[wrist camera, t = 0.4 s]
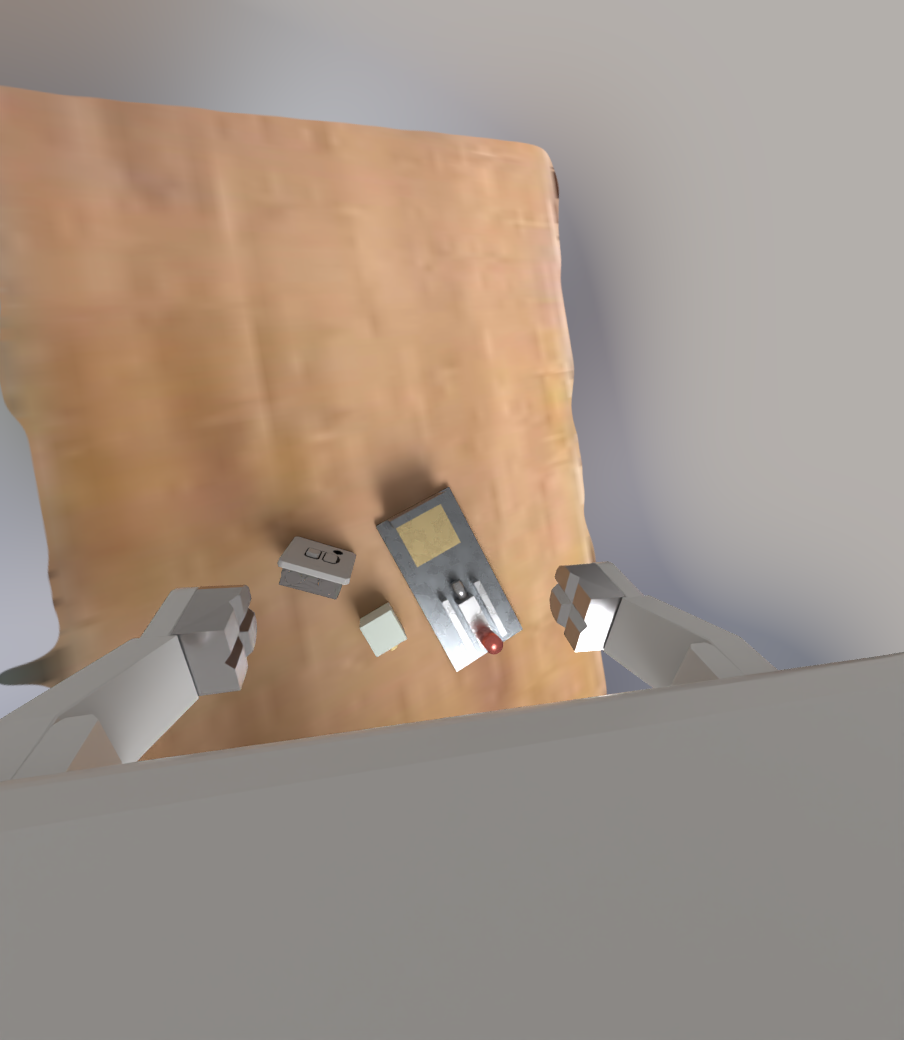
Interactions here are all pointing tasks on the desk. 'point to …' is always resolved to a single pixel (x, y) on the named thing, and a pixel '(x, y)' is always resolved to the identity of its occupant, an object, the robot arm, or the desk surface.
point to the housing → (382, 629)
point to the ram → (476, 619)
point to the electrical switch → (315, 567)
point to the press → (447, 573)
